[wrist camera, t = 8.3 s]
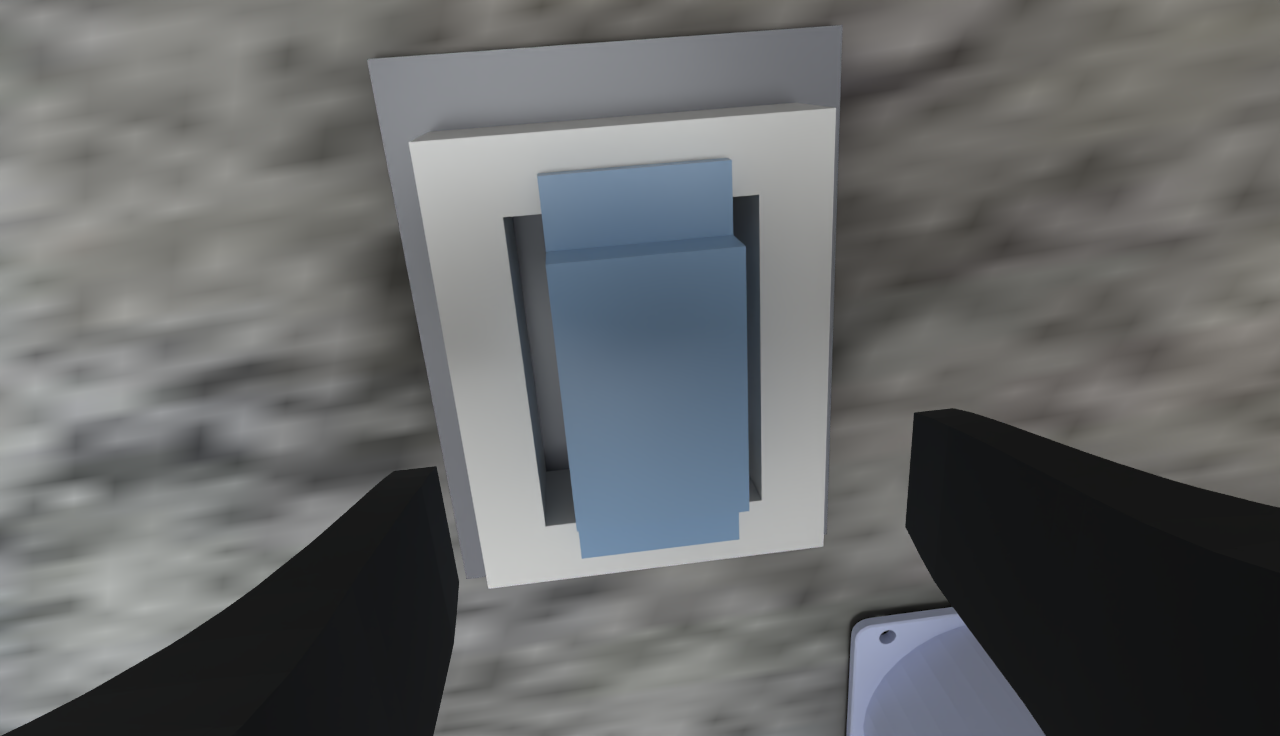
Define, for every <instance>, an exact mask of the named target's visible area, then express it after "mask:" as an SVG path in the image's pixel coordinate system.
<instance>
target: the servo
mask: <svg viewBox="0 0 1280 736" xmlns="http://www.w3.org/2000/svg"><path fill="white" fill-rule="evenodd" d="M537 179H538V188H539V196H540V205H541V213H542V222H543V231H544V239H545V248H546V273H547V281H548V290H549V298H550V307H551V315H552V324H553V332H554V341H555V349H556V358H557V366H558V375H559V383H560V392H561V400H562V409H563V417H564V426H565V434H566V443H567V451H568V460H569V468H570V477H571V485H572V494H573V502H574V511H575V519H576V528H577V532H579V539H580V548H581V556H582V559H584V558H592V557H600V556H608V555H617V554H625V553H633V552H641V551H649V550H657V549H666V548H674V547H682V546H690V545H698V544H706V543H714V542H723V541H731V540H739V512H746V511H749V442H748V369H747V296H746V246H745V245H744V244H743V243H742V242H741V241H739V240H738V239H737V238H736V237H735V236H734V235H733V193H732V160H731V159H729V158H718V159H706V160H694V161H682V162H670V163H658V164H645V165H633V166H621V167H609V168H597V169H585V170H573V171H561V172H549V173H538V174H537Z"/></svg>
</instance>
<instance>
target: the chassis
mask: <svg viewBox="0 0 1280 736" xmlns="http://www.w3.org/2000/svg"><path fill="white" fill-rule="evenodd" d="M841 56H842V25H835V26H821V27H807V28H793V29H780V30H766V31H752V32H738V33H724V34H710V35H696V36H682V37H668V38H654V39H640V40H626V41H613V42H599V43H585V44H571V45H557V46H543V47H529V48H515V49H501V50H487V51H473V52H459V53H446V54H432V55H418V56H404V57H390V58H376V59H367V62H368V67H369V72H370V78H371V83H372V88H373V93H374V99H375V104H376V109H377V114H378V119H379V125H380V130H381V135H382V140H383V146H384V151H385V156H386V161H387V166H388V172H389V177H390V182H391V187H392V193H393V198H394V203H395V208H396V213H397V219H398V224H399V229H400V234H401V240H402V245H403V250H404V255H405V260H406V266H407V271H408V276H409V281H410V287H411V292H412V297H413V302H414V307H415V313H416V318H417V323H418V328H419V333H420V339H421V344H422V349H423V354H424V360H425V365H426V370H427V375H428V380H429V386H430V391H431V396H432V401H433V407H434V412H435V417H436V422H437V427H438V433H439V438H440V443H441V448H442V454H443V459H444V464H445V469H446V474H447V480H448V485H449V490H450V495H451V501H452V506H453V511H454V516H455V521H456V527H457V532H458V537H459V542H460V548H461V553H462V558H463V563H464V568H465V574H466V579H471V578H479V577H486V578H487V583H488V589H490V588H498V587H506V586H514V585H522V584H530V583H538V582H546V581H553V580H561V579H569V578H577V577H585V576H593V575H601V574H609V573H617V572H625V571H633V570H641V569H649V568H657V567H665V566H673V565H681V564H689V563H696V562H704V561H712V560H720V559H728V558H736V557H744V556H752V555H760V554H768V553H776V552H784V551H792V550H800V549H808V548H816V547H823V540H824V534H827V510H828V478H829V445H830V413H831V381H832V348H833V316H834V283H835V251H836V219H837V186H838V154H839V121H840V89H841ZM718 158H729V159H731V160H732V193H733V235H734V236H735V237H736V238H737V239H738V240H739V241H741V242H742V243H743V244H744V245H745V246H746V296H747V369H748V442H749V511H746V512H739V540H731V541H723V542H714V543H706V544H698V545H690V546H682V547H674V548H666V549H657V550H649V551H641V552H633V553H625V554H617V555H608V556H600V557H592V558H584V559H582V556H581V548H580V539H579V532H577V528H576V519H575V511H574V502H573V494H572V485H571V477H570V468H569V460H568V451H567V443H566V434H565V426H564V417H563V409H562V400H561V392H560V383H559V375H558V366H557V358H556V349H555V341H554V332H553V324H552V315H551V307H550V298H549V290H548V281H547V273H546V248H545V239H544V231H543V222H542V213H541V205H540V196H539V188H538V179H537V174H538V173H549V172H561V171H573V170H585V169H597V168H609V167H621V166H633V165H645V164H658V163H670V162H682V161H694V160H706V159H718Z"/></svg>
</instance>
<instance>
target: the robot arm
mask: <svg viewBox="0 0 1280 736" xmlns="http://www.w3.org/2000/svg"><path fill="white" fill-rule="evenodd" d="M905 527H906V529H907V531H908V533H909V535H910V537H911V539H912V541H913V543H914V545H915V547H916V549H917V551H918V552H919V554H920V556H921V558H922V560H923V562H924V564H925V565H926V567H927V569H928V571H929V573H930V574H931V576H932V578H933V580H934V581H935V583H936V584H937V586H938V587H939V589H940V590H941V591H942V593H943V594H944V596H945V597H946V598H947V600H948V601H949V603H950V604H951V605H952V607H948V608H941V609H933V610H926V611H918V612H911V613H903V614H896V615H889V616H881V617H874V618H867V619H864V620H861V621H860V622H858V623H857V624H856V625H855V626H854V627H853V629H852V633H851V650H850V671H849V691H848V712H847V732H846V736H1280V508H1279V507H1274V506H1269V505H1265V504H1261V503H1257V502H1253V501H1249V500H1245V499H1241V498H1237V497H1233V496H1229V495H1225V494H1221V493H1217V492H1213V491H1209V490H1205V489H1201V488H1197V487H1194V486H1190V485H1187V484H1183V483H1180V482H1176V481H1173V480H1169V479H1166V478H1163V477H1160V476H1157V475H1153V474H1150V473H1147V472H1144V471H1141V470H1137V469H1134V468H1131V467H1128V466H1125V465H1121V464H1118V463H1116V462H1113V461H1110V460H1107V459H1104V458H1101V457H1098V456H1095V455H1092V454H1089V453H1086V452H1083V451H1080V450H1078V449H1075V448H1072V447H1069V446H1066V445H1064V444H1061V443H1058V442H1055V441H1052V440H1050V439H1047V438H1044V437H1041V436H1039V435H1036V434H1033V433H1030V432H1027V431H1025V430H1022V429H1019V428H1016V427H1014V426H1011V425H1008V424H1005V423H1002V422H999V421H996V420H993V419H990V418H987V417H984V416H981V415H978V414H974V413H971V412H967V411H963V410H958V409H953V408H952V409H943V410H934V411H925V412H916V413H914V421H913V434H912V447H911V460H910V473H909V486H908V499H907V512H906V526H905ZM458 589H459V579H458V574H457V569H456V564H455V559H454V554H453V549H452V544H451V538H450V533H449V528H448V523H447V518H446V513H445V508H444V503H443V498H442V493H441V487H440V482H439V477H438V472H437V467H436V466H435V467H426V468H418V469H409V470H400V471H394V472H392V473H391V474H389V475H388V476H387V477H385V478H384V479H383V480H382V481H381V482H379V483H378V484H377V485H376V486H375V487H374V488H373V489H371V490H370V491H369V492H368V493H367V494H366V495H365V496H364V497H362V498H361V499H360V500H359V501H358V502H357V503H356V504H355V505H354V506H352V507H351V508H350V509H349V510H348V511H347V512H346V513H345V514H343V515H342V516H341V517H340V518H339V519H338V520H337V521H335V522H334V523H333V524H332V525H331V526H330V527H329V528H327V529H326V530H325V531H324V532H323V533H322V534H321V535H319V536H318V537H317V538H316V539H315V540H314V541H313V542H311V543H310V544H309V545H308V546H307V547H305V548H304V549H303V550H301V551H300V552H299V553H298V554H296V555H295V556H294V557H293V558H291V559H290V560H289V561H288V562H286V563H285V564H284V565H283V566H281V567H280V568H279V569H278V570H276V571H275V572H274V573H273V574H271V575H270V576H269V577H268V578H266V579H265V580H264V581H263V582H261V583H260V584H259V585H258V586H256V587H255V588H254V589H252V590H251V591H250V592H248V593H247V594H246V595H244V596H243V597H241V598H240V599H239V600H237V601H236V602H234V603H233V604H232V605H230V606H229V607H227V608H226V609H224V610H223V611H222V612H220V613H219V614H217V615H216V616H214V617H213V618H211V619H209V620H208V621H206V622H205V623H203V624H202V625H200V626H199V627H197V628H196V629H194V630H193V631H191V632H190V633H188V634H187V635H185V636H184V637H182V638H181V639H179V640H177V641H176V642H174V643H173V644H171V645H169V646H168V647H166V648H164V649H162V650H161V651H159V652H157V653H155V654H154V655H152V656H150V657H148V658H147V659H145V660H143V661H142V662H140V663H138V664H136V665H135V666H133V667H131V668H129V669H128V670H126V671H124V672H122V673H121V674H119V675H117V676H115V677H114V678H112V679H110V680H109V681H107V682H105V683H103V684H102V685H100V686H98V687H96V688H95V689H93V690H91V691H89V692H87V693H85V694H84V695H82V696H80V697H78V698H76V699H74V700H72V701H70V702H68V703H66V704H64V705H62V706H60V707H58V708H57V709H55V710H53V711H51V712H49V713H47V714H45V715H43V716H41V717H39V718H37V719H35V720H33V721H31V722H29V723H27V724H25V725H23V726H21V727H18V728H16V729H14V730H12V731H10V732H8V733H6V734H4V735H2V736H433V734H434V730H435V725H436V721H437V717H438V712H439V708H440V703H441V699H442V695H443V690H444V686H445V681H446V677H447V672H448V667H449V663H450V658H451V654H452V649H453V644H454V635H455V625H456V615H457V602H458ZM887 630H889V631H888V632H887V633H886V634H883V635H881V634H882V633H883V632H884V631H887Z"/></svg>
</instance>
